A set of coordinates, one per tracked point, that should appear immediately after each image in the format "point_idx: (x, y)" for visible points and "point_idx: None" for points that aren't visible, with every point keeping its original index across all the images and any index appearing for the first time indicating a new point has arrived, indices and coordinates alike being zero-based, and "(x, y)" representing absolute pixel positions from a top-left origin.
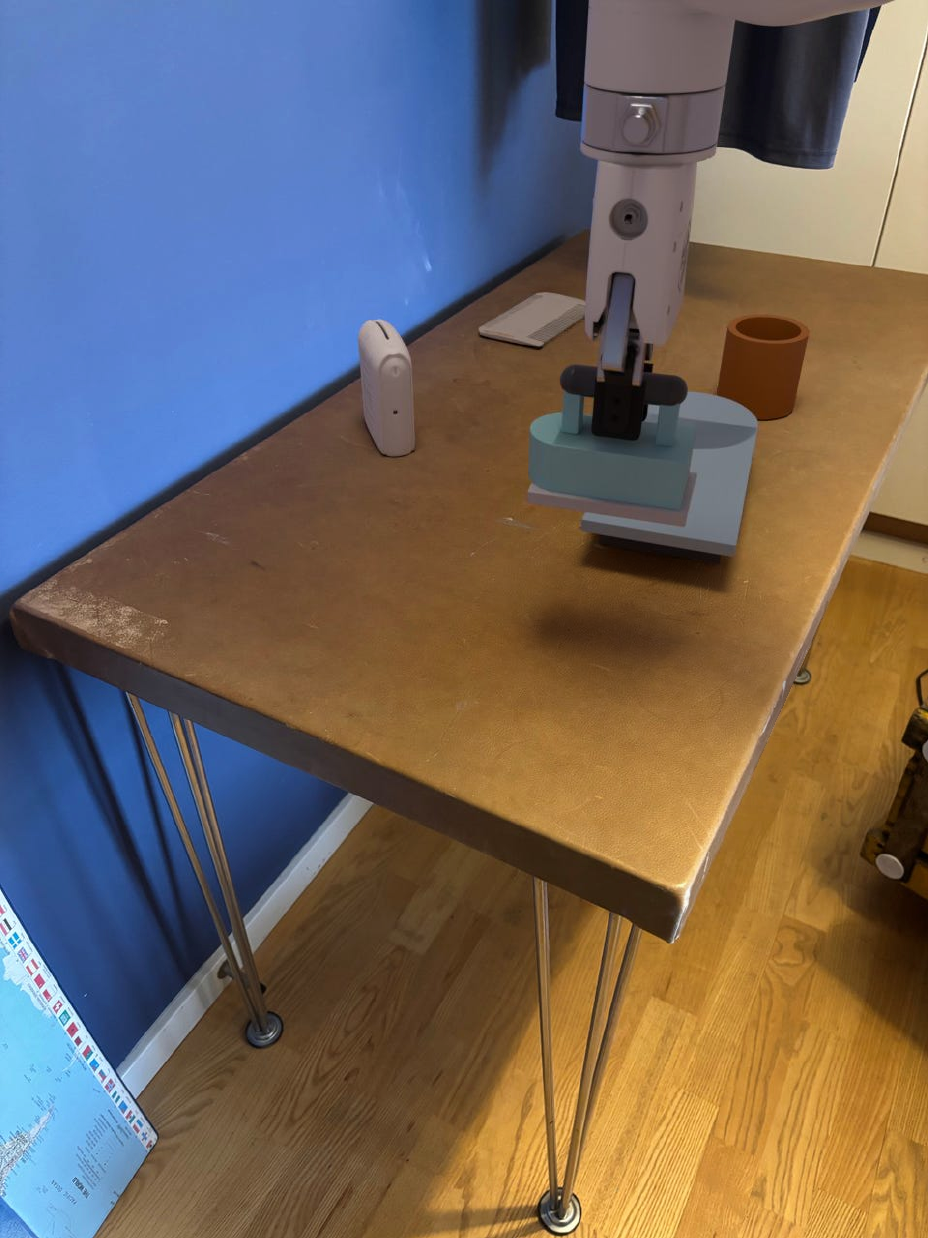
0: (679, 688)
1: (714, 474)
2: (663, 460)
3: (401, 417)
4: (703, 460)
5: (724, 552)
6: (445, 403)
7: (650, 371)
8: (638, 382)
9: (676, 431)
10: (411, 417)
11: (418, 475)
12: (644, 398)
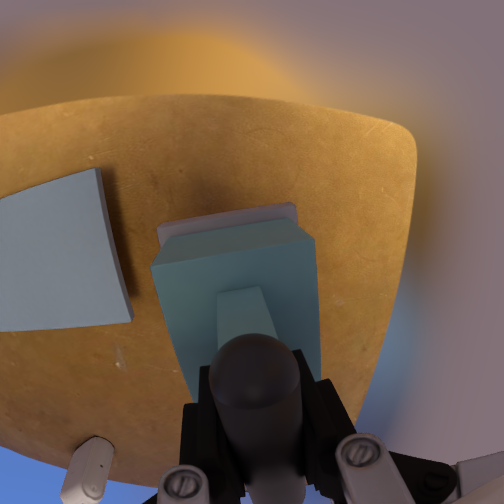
0: (259, 164)
1: (3, 232)
2: (317, 282)
3: (98, 460)
4: None
5: (100, 177)
6: (41, 431)
7: (218, 447)
8: (381, 442)
9: (186, 298)
10: (91, 455)
11: (115, 426)
12: (308, 405)
